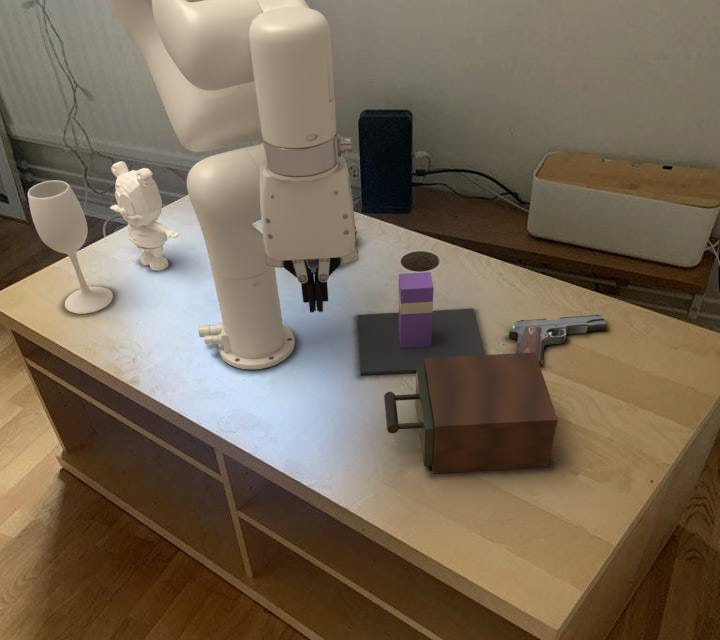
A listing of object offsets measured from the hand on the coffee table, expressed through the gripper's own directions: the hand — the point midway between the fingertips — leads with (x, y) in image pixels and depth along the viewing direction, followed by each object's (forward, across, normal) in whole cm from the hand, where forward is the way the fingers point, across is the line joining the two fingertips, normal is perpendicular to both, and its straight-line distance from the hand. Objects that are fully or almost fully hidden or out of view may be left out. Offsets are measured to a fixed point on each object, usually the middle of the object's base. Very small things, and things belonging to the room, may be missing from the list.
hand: (316, 305), depth 87 cm
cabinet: (+23, -22, 0) cm, 32 cm away
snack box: (+22, -14, -23) cm, 35 cm away
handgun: (+23, -36, -22) cm, 48 cm away
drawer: (+22, -18, 0) cm, 28 cm away
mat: (+23, -15, -23) cm, 36 cm away
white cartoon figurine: (+23, +34, -53) cm, 67 cm away
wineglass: (+23, +44, -41) cm, 64 cm away
